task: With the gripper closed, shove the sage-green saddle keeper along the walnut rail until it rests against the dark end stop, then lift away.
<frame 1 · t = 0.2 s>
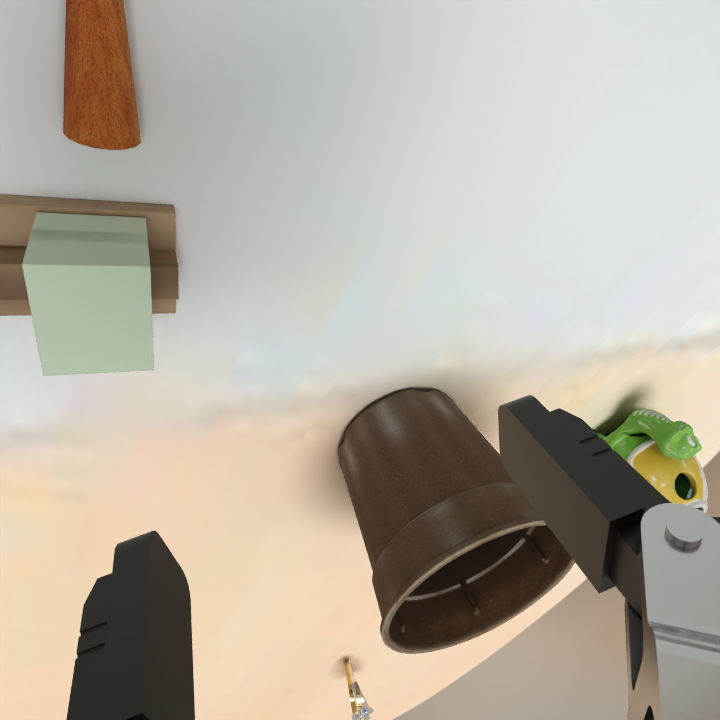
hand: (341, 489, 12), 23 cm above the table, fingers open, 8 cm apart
plant pot: (398, 434, 49), on the table
ring: (346, 660, 78), on the table
keeper: (96, 293, 27), point 4 cm above the table, slide at 0.0 cm
turtle holder: (607, 437, 64), on the table
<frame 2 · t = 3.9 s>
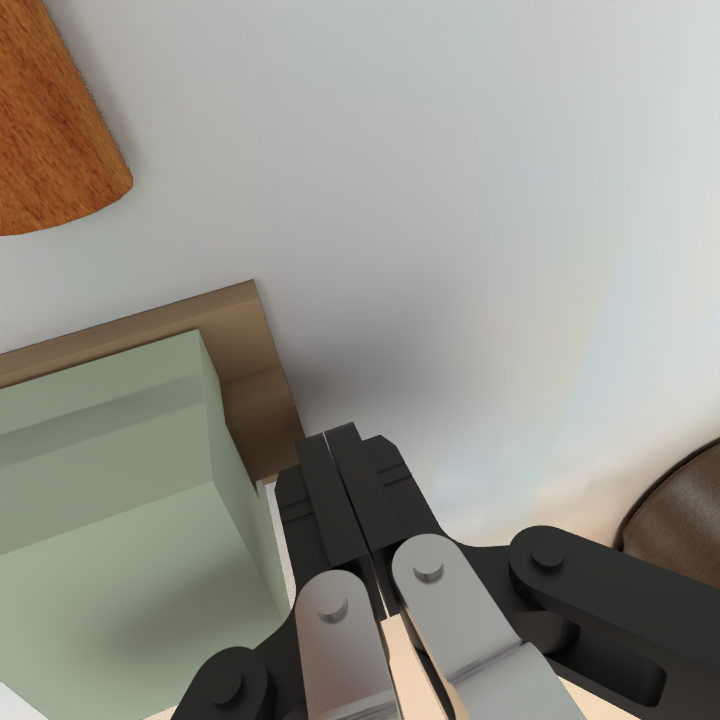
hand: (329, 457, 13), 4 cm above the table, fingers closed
plant pot: (701, 508, 30), on the table
keeper: (143, 521, 12), point 4 cm above the table, slide at 0.2 cm, touching gripper
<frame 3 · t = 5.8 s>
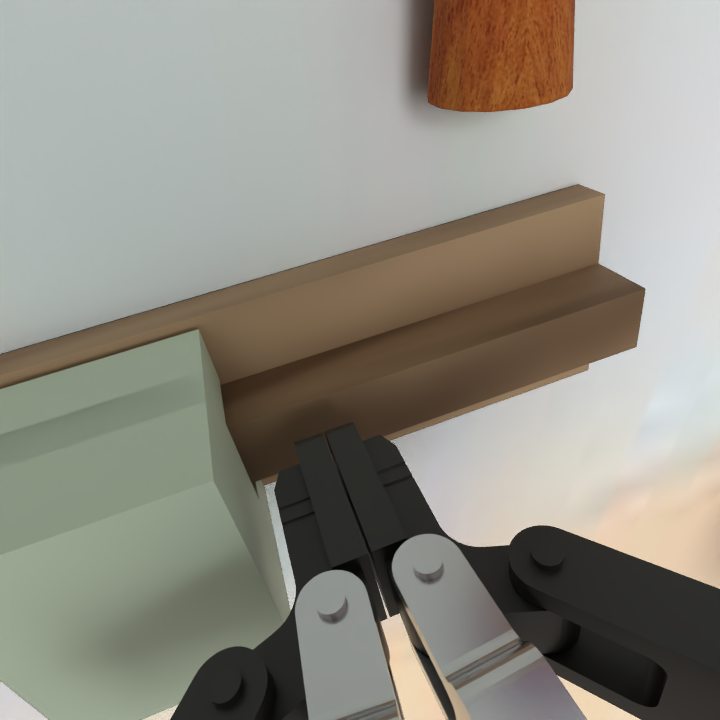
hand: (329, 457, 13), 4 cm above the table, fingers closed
keeper: (143, 521, 12), point 4 cm above the table, slide at 10.5 cm, touching gripper
rail: (198, 398, 16), on the table
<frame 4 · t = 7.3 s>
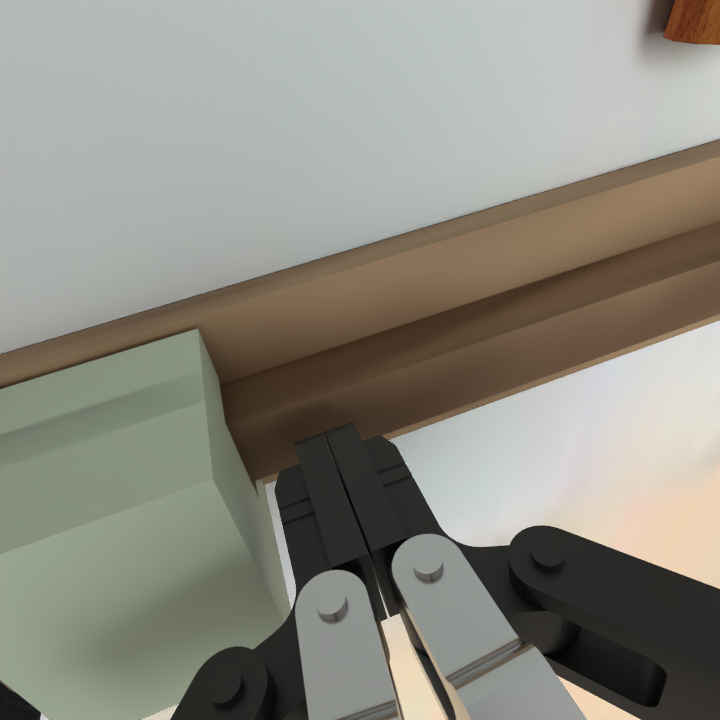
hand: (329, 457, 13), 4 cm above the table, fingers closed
keeper: (143, 521, 12), point 4 cm above the table, slide at 17.5 cm, touching gripper, rail
rail: (409, 328, 17), on the table
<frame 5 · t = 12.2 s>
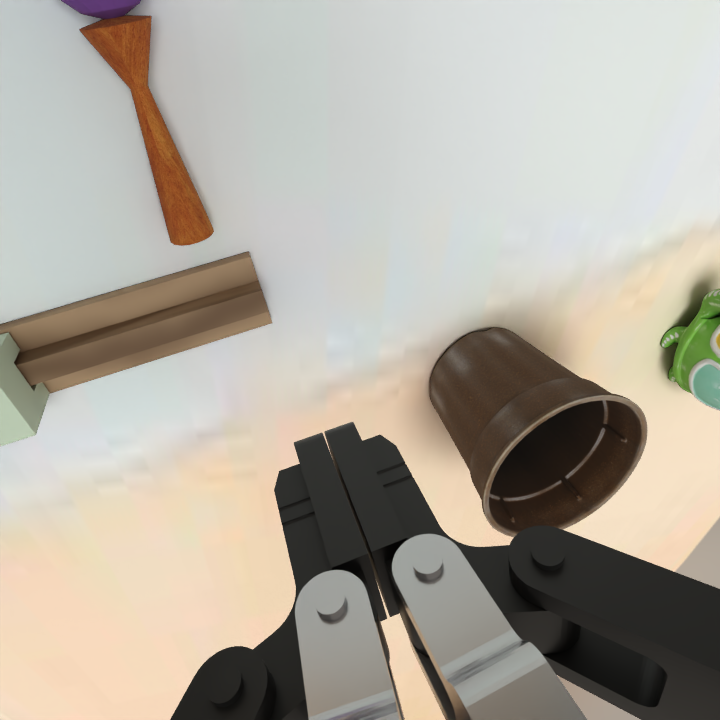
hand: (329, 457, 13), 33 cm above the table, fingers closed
plant pot: (478, 373, 58), on the table
turtle holder: (696, 328, 66), on the table
rail: (108, 331, 43), on the table
kendama: (142, 88, 36), on the table
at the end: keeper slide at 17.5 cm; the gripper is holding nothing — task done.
